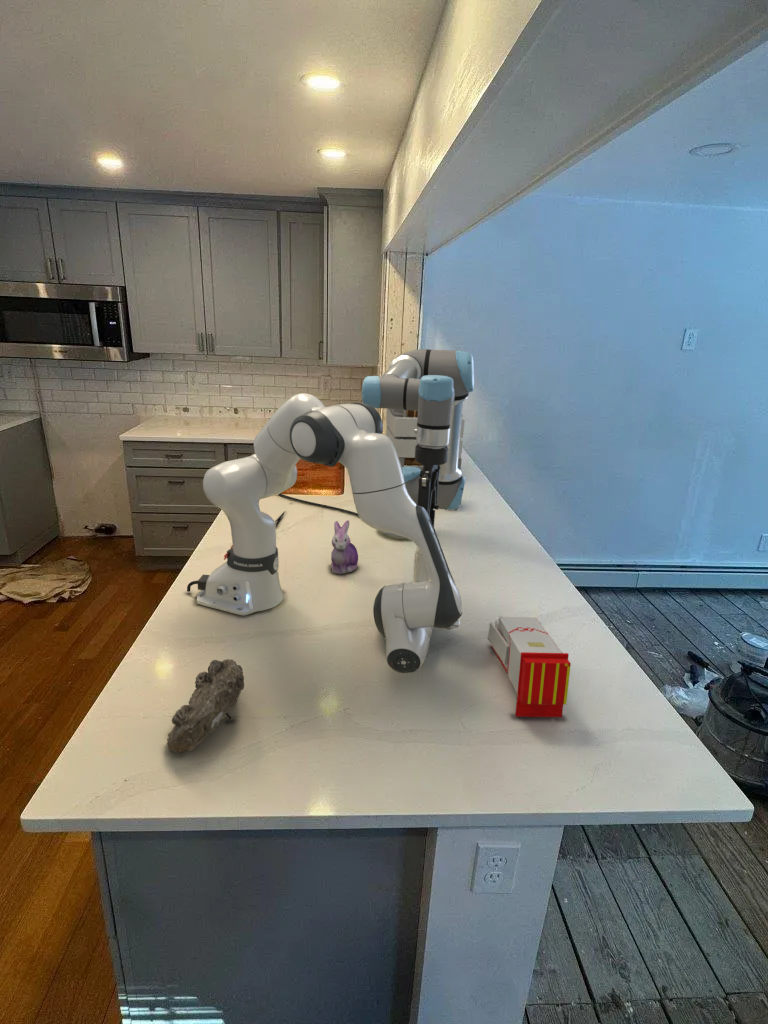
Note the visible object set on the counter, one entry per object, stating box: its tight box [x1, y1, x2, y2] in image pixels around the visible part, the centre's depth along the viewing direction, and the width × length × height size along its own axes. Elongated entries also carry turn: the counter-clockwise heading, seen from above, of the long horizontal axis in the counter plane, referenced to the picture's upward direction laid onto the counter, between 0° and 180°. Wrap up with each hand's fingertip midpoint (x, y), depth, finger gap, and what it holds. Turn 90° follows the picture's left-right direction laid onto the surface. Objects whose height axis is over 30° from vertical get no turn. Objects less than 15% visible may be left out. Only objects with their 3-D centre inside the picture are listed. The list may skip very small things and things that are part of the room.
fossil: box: [166, 658, 245, 754], centre depth 106 cm, size 22×10×15 cm
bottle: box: [412, 546, 431, 583], centre depth 141 cm, size 4×4×24 cm
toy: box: [487, 616, 572, 718], centre depth 123 cm, size 12×13×30 cm
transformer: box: [385, 409, 465, 472], centre depth 268 cm, size 34×33×41 cm
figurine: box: [330, 519, 359, 575], centre depth 169 cm, size 9×10×15 cm
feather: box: [274, 510, 286, 528], centre depth 212 cm, size 2×28×2 cm
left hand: (421, 595), depth 144 cm, fingers closed on bottle, 4 cm apart
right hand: (425, 538), depth 137 cm, fingers open, 5 cm apart
